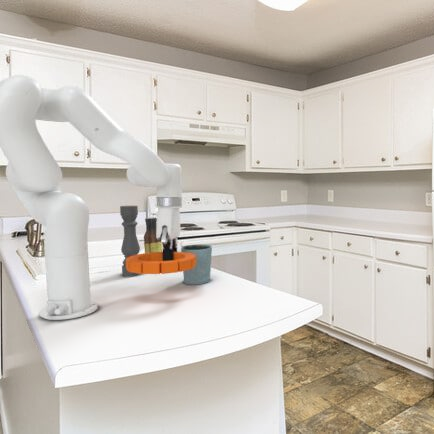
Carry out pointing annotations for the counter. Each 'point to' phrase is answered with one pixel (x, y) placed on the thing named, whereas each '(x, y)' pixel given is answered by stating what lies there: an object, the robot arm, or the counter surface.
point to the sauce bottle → (151, 236)
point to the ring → (160, 263)
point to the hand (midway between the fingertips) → (170, 260)
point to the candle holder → (129, 236)
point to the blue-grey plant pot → (198, 264)
